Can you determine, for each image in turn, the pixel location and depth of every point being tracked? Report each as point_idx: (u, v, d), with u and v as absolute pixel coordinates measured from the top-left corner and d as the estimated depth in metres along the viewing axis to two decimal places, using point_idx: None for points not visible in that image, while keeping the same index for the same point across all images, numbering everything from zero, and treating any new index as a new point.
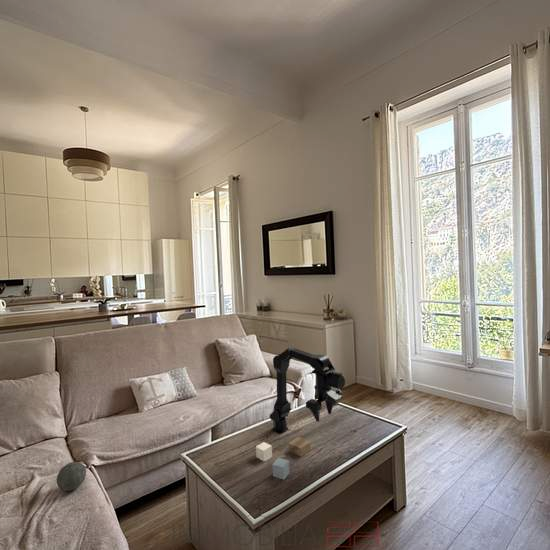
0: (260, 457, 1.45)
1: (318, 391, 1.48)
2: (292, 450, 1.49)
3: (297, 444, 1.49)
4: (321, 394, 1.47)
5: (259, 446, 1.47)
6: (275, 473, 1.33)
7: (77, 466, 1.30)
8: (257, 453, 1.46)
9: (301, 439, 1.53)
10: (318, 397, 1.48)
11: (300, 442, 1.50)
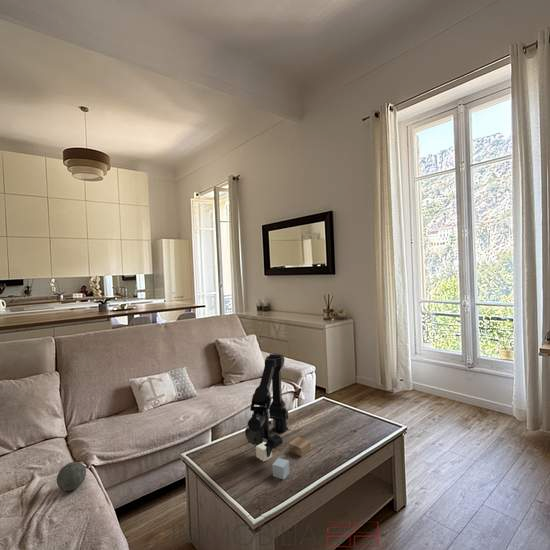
0: (260, 457, 1.45)
1: None
2: (292, 450, 1.49)
3: (297, 444, 1.49)
4: None
5: (259, 446, 1.47)
6: (275, 473, 1.33)
7: (77, 466, 1.30)
8: (257, 453, 1.46)
9: (301, 439, 1.53)
10: None
11: (300, 442, 1.50)
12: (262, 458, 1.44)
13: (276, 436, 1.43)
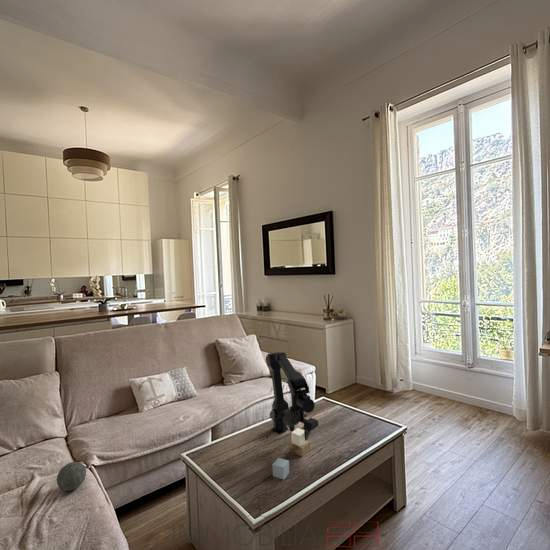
0: (296, 442, 1.49)
1: None
2: (293, 451, 1.49)
3: None
4: None
5: (294, 432, 1.50)
6: (275, 473, 1.33)
7: (77, 466, 1.30)
8: (293, 438, 1.50)
9: None
10: None
11: None
12: (298, 443, 1.48)
13: (312, 419, 1.46)
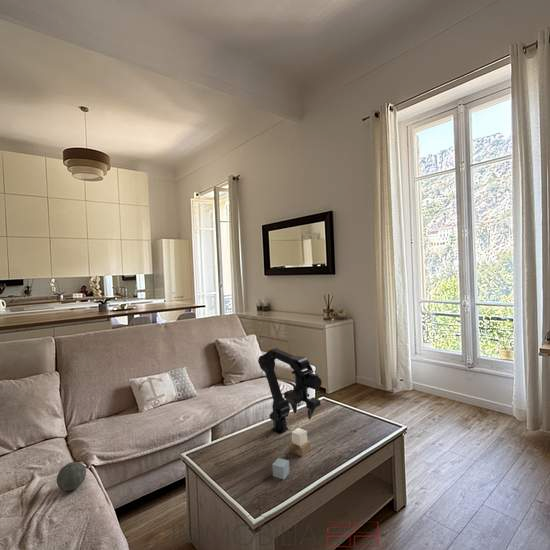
0: (296, 442, 1.49)
1: None
2: (293, 451, 1.49)
3: None
4: None
5: (295, 431, 1.51)
6: (275, 473, 1.33)
7: (77, 466, 1.30)
8: (293, 438, 1.50)
9: None
10: None
11: None
12: (298, 443, 1.48)
13: (314, 398, 1.53)
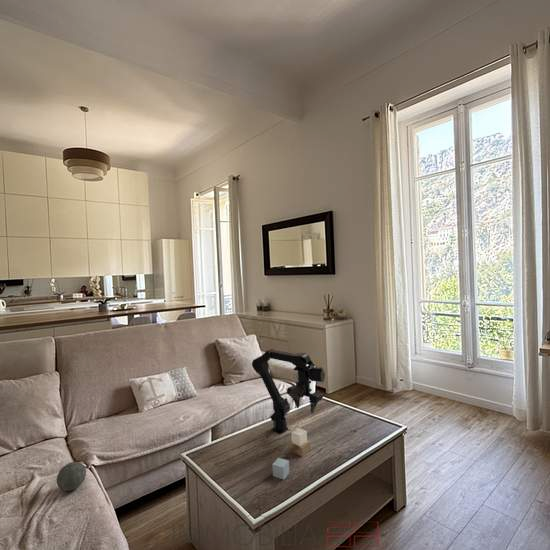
0: (296, 442, 1.49)
1: None
2: (293, 450, 1.49)
3: None
4: None
5: (294, 431, 1.50)
6: (275, 473, 1.33)
7: (77, 466, 1.30)
8: (293, 438, 1.50)
9: None
10: None
11: None
12: (298, 443, 1.48)
13: (317, 393, 1.59)
